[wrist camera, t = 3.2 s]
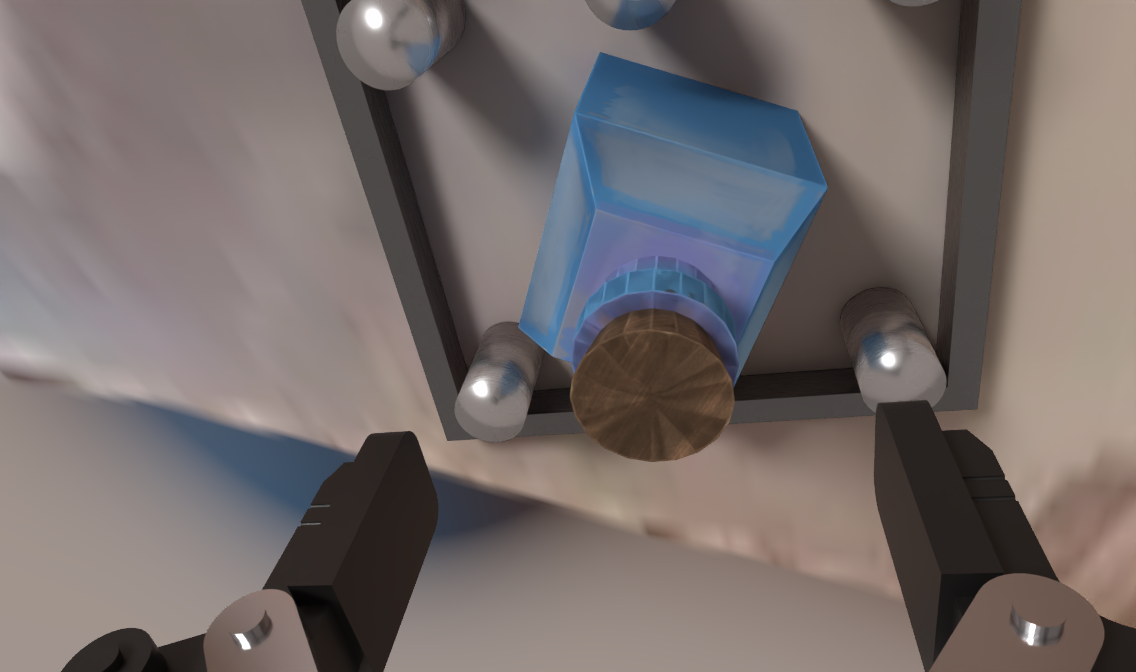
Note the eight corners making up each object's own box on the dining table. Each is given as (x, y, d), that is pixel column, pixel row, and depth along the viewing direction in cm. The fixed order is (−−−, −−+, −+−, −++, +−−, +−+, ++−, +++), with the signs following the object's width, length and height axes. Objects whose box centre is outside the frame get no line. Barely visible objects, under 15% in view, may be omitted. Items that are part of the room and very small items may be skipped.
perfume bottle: (724, 283, 27) (745, 547, 17) (551, 232, 27) (468, 469, 17) (797, 110, 23) (877, 312, 13) (600, 52, 23) (532, 211, 13)
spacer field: (1023, -233, 19) (1096, -249, 15) (964, 383, 28) (1002, 457, 24) (299, -79, 22) (231, -65, 19) (456, 417, 32) (429, 485, 28)
